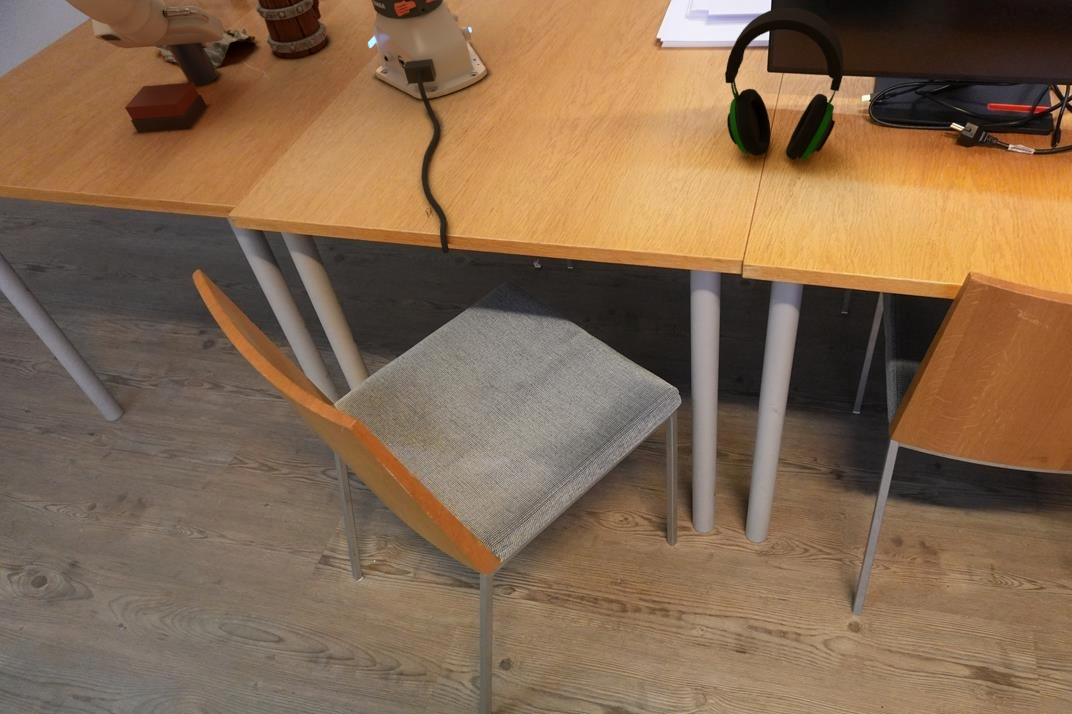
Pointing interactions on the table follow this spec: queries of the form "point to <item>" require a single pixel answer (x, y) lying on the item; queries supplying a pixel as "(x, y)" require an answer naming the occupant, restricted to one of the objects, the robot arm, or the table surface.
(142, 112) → the notebooks
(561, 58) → the table surface
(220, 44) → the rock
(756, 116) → the headphones
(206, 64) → the cup
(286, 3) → the mug
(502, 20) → the table surface
